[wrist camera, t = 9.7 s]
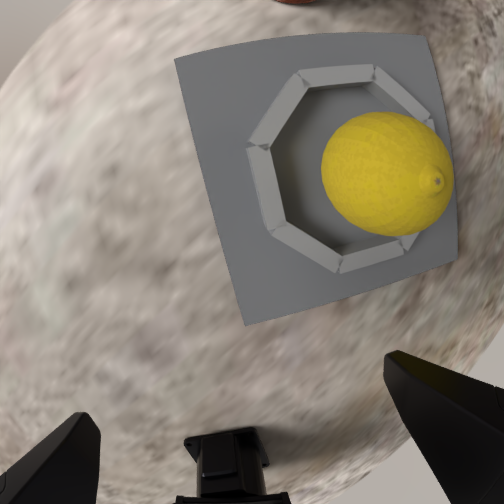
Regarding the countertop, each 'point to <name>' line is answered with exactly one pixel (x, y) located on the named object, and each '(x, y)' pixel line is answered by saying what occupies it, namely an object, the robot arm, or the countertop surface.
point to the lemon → (387, 173)
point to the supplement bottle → (295, 1)
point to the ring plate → (306, 162)
